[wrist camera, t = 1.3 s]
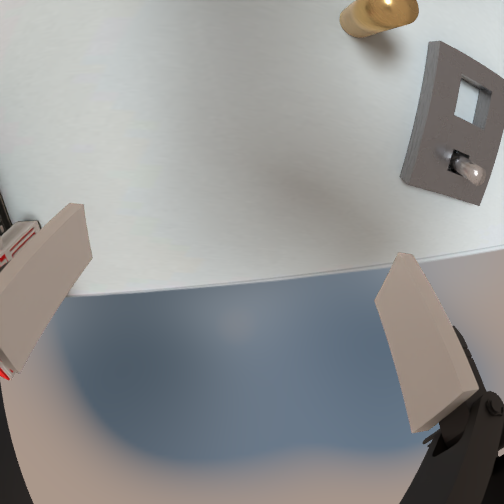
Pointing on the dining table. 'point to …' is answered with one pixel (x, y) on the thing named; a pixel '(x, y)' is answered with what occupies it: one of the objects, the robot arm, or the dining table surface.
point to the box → (3, 218)
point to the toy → (6, 249)
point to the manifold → (454, 127)
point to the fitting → (377, 16)
